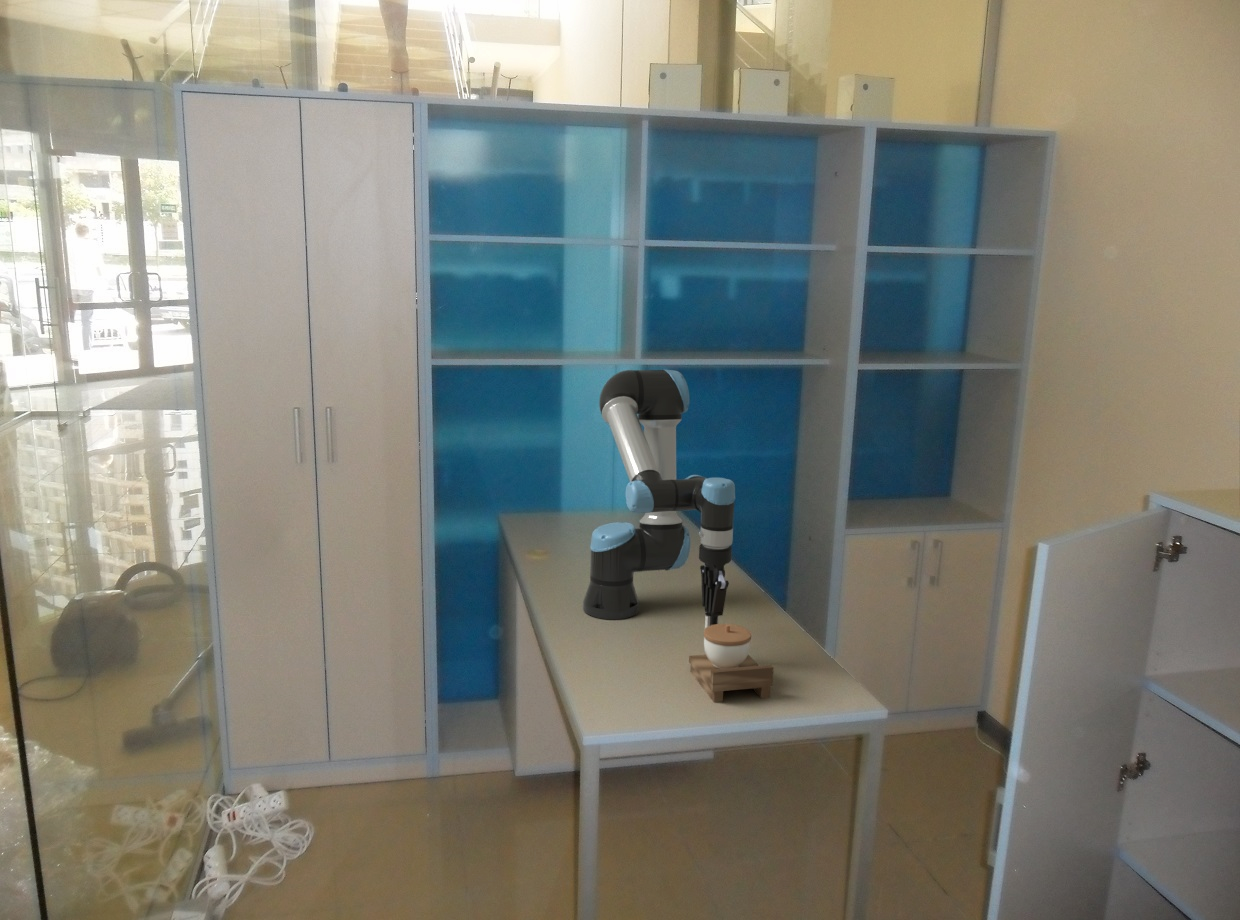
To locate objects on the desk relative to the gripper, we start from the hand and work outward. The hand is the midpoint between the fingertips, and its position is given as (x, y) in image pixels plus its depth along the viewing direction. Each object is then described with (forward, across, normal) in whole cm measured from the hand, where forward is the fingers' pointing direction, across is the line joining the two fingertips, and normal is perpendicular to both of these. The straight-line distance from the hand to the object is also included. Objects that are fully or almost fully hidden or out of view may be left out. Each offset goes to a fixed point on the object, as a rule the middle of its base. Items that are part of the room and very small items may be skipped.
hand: (710, 639), depth 233 cm
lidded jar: (+2, +11, 0) cm, 11 cm away
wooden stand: (+6, +13, 0) cm, 14 cm away
